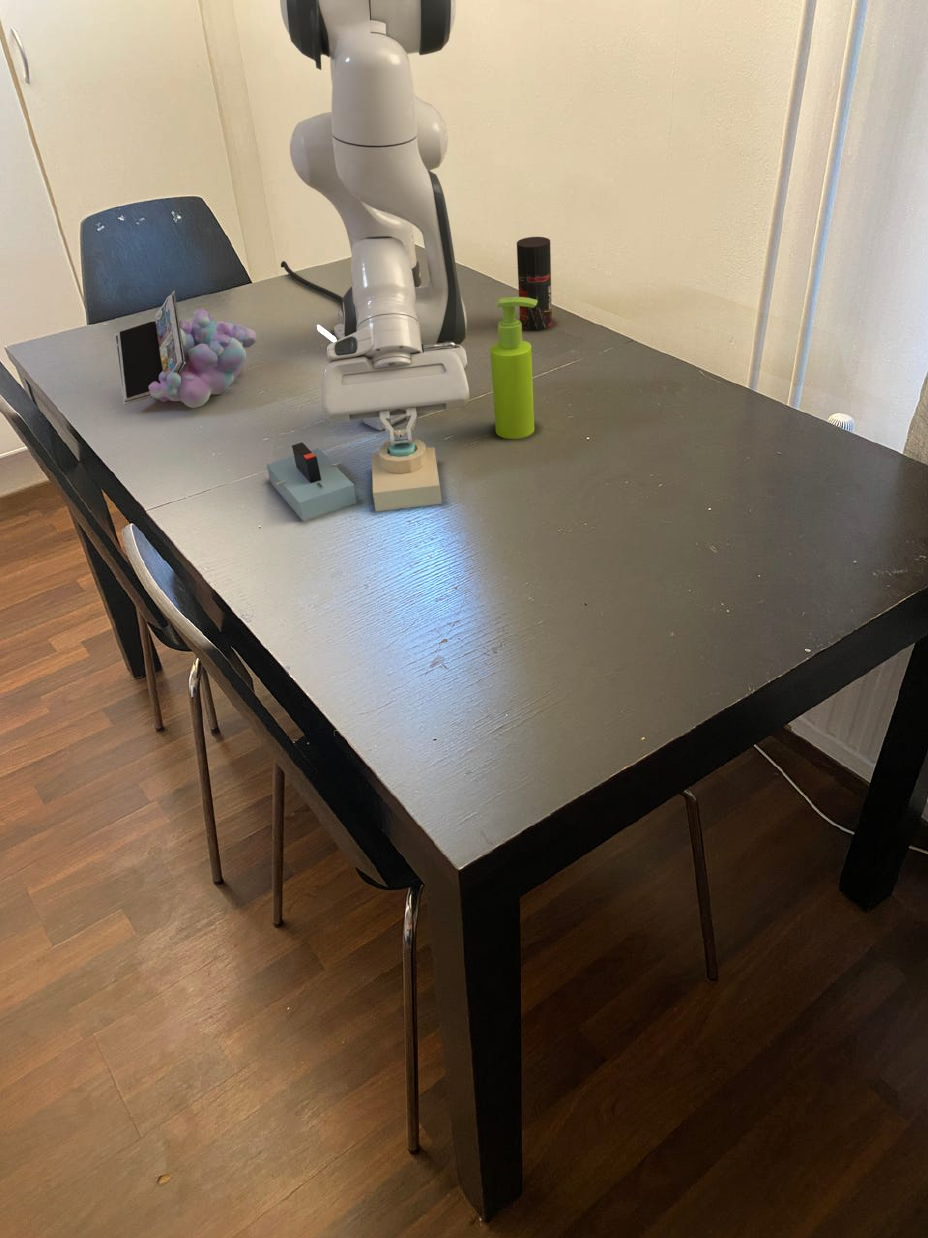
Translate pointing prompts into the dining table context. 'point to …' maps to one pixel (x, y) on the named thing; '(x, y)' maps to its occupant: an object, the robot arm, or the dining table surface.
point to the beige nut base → (405, 478)
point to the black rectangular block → (306, 462)
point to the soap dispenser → (512, 374)
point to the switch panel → (312, 487)
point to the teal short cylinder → (402, 450)
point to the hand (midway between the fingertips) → (401, 444)
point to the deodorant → (535, 282)
